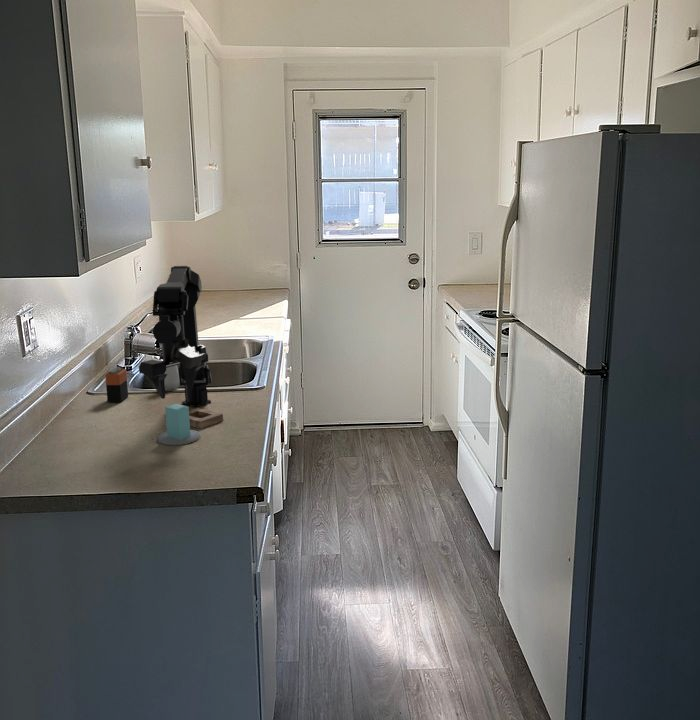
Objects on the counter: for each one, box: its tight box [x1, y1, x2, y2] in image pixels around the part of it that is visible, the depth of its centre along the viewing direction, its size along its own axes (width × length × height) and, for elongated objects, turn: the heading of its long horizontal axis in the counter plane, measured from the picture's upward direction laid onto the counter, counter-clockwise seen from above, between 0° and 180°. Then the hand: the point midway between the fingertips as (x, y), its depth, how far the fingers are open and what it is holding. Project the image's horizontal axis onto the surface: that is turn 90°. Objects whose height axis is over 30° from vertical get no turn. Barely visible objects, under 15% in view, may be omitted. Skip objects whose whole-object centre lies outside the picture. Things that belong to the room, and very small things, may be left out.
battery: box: [104, 366, 129, 404], centre depth 232 cm, size 4×7×10 cm, turn 176°
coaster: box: [156, 429, 201, 446], centre depth 198 cm, size 11×11×1 cm
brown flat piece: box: [189, 407, 224, 429], centre depth 211 cm, size 10×8×2 cm
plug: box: [165, 403, 191, 440], centre depth 197 cm, size 5×4×8 cm
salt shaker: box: [164, 362, 180, 390], centre depth 245 cm, size 6×6×13 cm
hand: (176, 394), depth 195 cm, fingers open, 9 cm apart
